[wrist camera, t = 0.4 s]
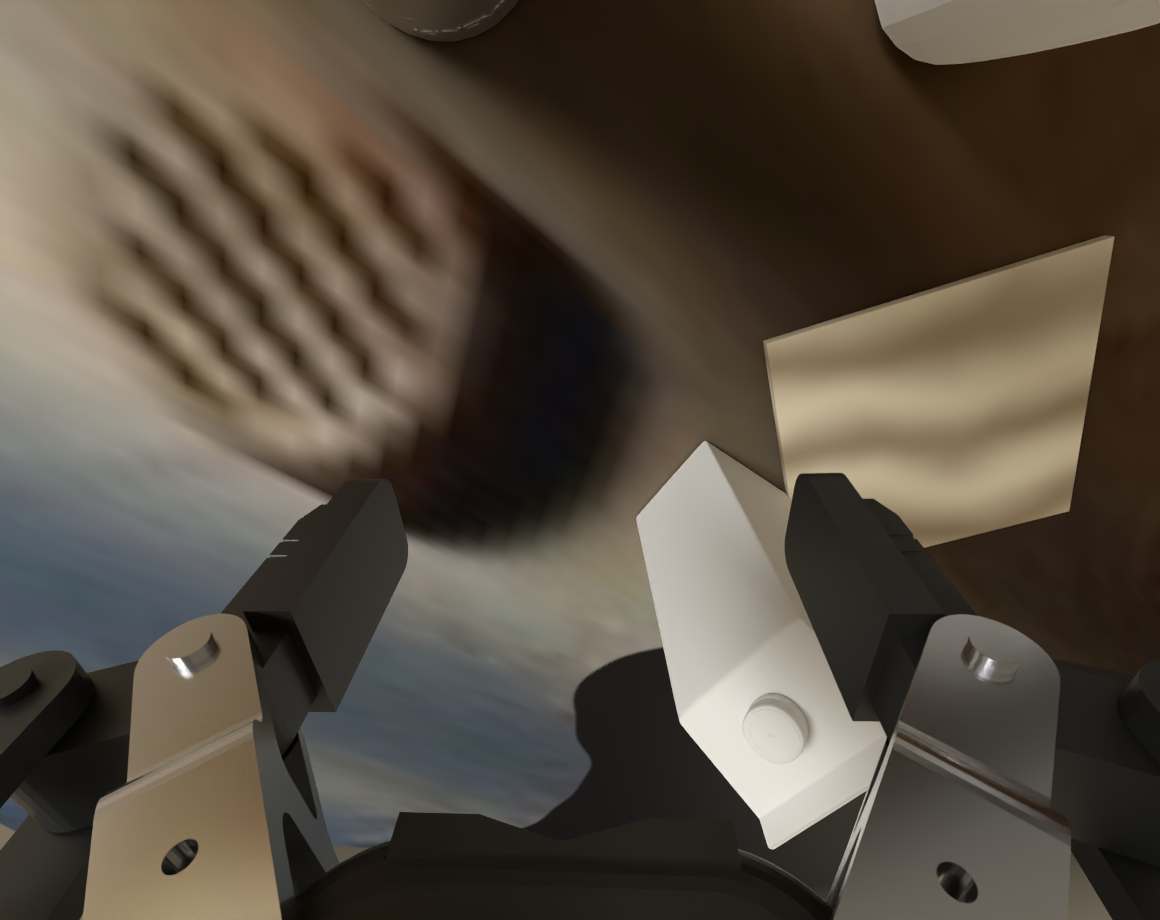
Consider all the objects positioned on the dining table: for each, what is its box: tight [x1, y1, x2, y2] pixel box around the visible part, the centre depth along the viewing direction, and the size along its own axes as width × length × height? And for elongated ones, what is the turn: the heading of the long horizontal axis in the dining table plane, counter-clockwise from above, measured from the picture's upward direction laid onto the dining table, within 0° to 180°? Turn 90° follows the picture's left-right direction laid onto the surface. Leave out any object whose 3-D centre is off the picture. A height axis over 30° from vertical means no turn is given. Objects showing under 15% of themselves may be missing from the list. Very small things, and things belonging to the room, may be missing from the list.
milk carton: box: [636, 441, 887, 850], centre depth 27 cm, size 7×7×19 cm
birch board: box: [763, 235, 1114, 548], centre depth 33 cm, size 18×18×1 cm
